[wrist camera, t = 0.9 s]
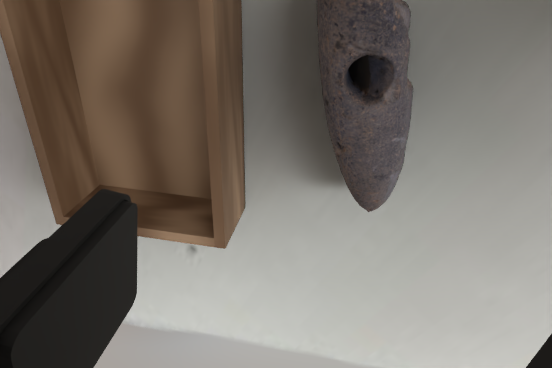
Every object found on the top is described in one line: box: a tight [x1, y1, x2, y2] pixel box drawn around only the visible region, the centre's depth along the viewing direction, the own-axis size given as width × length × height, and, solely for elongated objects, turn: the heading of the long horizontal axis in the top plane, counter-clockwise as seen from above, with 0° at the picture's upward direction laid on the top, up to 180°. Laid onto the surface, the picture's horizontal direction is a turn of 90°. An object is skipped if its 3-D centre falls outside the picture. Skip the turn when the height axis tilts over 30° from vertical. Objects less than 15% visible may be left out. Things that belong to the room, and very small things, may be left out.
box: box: [0, 0, 245, 249], centre depth 29 cm, size 14×22×6 cm, turn 179°
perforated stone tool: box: [317, 0, 413, 212], centre depth 26 cm, size 15×5×7 cm, turn 7°
